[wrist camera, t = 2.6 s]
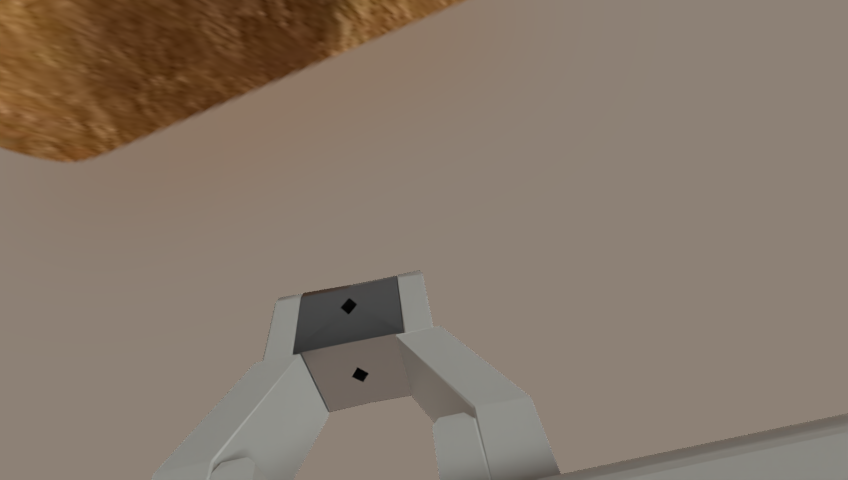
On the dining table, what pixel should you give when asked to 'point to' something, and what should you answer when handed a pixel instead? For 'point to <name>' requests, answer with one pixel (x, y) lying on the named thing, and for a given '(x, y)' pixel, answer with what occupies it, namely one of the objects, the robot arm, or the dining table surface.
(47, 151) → the dining table surface
